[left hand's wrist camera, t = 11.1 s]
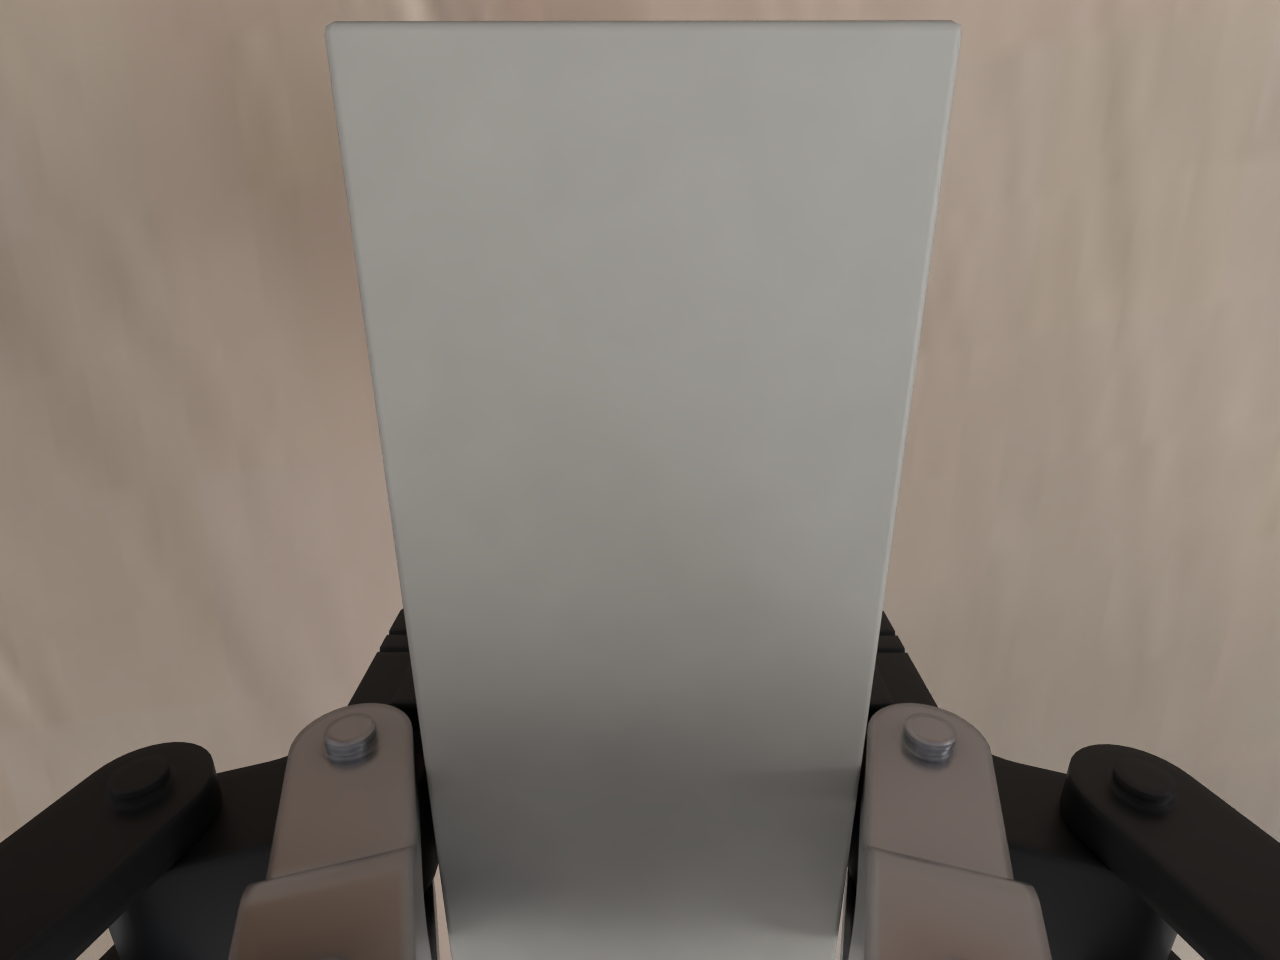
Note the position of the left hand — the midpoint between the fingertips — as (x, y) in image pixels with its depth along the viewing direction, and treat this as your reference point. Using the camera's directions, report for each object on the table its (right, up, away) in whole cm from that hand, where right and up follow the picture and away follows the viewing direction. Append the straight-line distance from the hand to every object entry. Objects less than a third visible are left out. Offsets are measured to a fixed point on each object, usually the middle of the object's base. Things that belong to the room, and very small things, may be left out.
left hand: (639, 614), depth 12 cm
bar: (0, -27, +13) cm, 29 cm away
